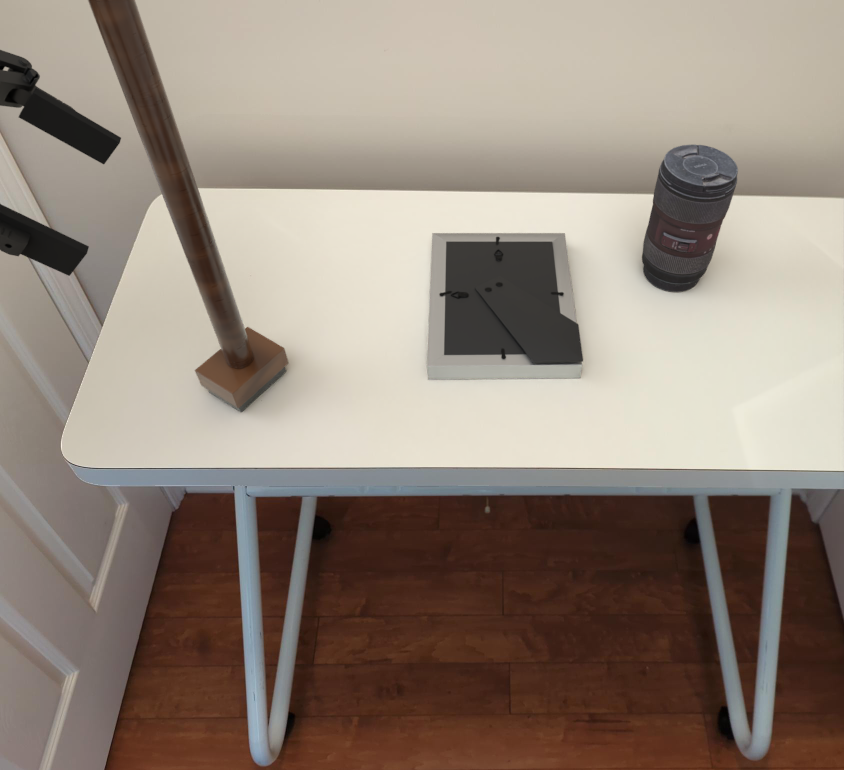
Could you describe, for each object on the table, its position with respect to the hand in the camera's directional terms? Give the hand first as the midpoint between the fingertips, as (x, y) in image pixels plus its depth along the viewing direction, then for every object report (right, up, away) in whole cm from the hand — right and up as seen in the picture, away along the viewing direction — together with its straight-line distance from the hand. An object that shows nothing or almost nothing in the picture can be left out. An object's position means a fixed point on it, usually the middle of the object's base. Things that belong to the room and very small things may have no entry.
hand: (97, 202), depth 58 cm
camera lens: (+51, -1, +31) cm, 60 cm away
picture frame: (+31, -5, +27) cm, 41 cm away
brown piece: (+5, -14, +18) cm, 23 cm away
